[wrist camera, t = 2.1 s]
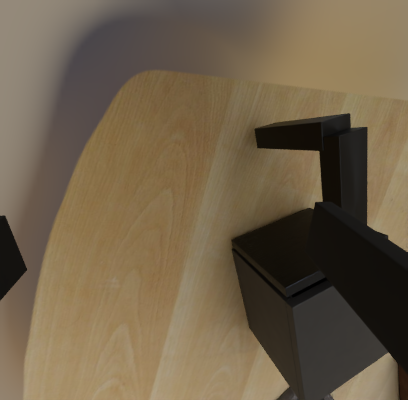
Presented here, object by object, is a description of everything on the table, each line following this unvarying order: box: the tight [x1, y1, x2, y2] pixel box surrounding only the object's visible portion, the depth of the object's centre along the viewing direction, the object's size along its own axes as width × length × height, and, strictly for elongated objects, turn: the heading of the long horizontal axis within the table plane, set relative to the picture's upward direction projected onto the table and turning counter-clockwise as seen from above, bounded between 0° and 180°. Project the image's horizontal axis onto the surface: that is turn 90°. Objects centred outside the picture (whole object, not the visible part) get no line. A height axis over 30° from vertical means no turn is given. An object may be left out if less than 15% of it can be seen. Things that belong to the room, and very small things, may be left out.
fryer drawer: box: [232, 113, 388, 298], centre depth 28 cm, size 30×14×13 cm, turn 14°
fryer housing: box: [232, 248, 388, 400], centre depth 32 cm, size 16×14×13 cm
